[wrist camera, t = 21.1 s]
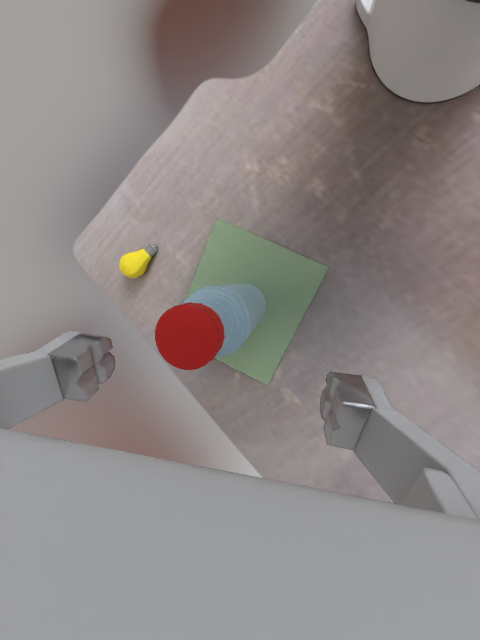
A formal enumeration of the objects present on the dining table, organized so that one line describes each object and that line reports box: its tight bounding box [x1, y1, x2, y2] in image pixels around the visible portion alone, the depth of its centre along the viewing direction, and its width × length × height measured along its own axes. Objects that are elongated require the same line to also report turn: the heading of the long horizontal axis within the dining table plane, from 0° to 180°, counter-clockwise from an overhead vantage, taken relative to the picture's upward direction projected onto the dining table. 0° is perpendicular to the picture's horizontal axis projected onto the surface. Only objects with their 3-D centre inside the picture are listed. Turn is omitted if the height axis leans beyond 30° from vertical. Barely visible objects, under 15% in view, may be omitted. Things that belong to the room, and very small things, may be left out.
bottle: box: [184, 283, 266, 358], centre depth 25 cm, size 6×6×19 cm
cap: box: [155, 302, 225, 370], centre depth 16 cm, size 4×4×2 cm
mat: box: [183, 218, 329, 385], centre depth 34 cm, size 18×16×1 cm
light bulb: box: [119, 245, 157, 278], centre depth 35 cm, size 3×6×4 cm, turn 132°
